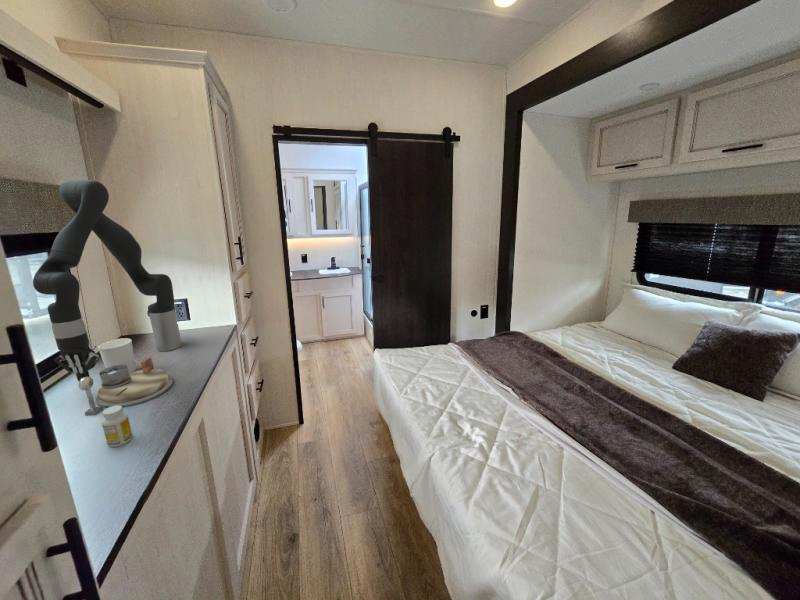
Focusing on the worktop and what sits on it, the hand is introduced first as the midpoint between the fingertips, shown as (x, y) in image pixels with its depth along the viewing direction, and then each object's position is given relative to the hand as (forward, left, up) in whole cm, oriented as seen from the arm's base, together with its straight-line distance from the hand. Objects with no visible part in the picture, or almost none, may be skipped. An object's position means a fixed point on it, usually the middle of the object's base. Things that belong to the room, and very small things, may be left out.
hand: (84, 381), depth 114 cm
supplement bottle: (+27, +28, -5) cm, 39 cm away
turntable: (0, +15, -3) cm, 16 cm away
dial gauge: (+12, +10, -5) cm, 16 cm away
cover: (0, +10, -1) cm, 10 cm away
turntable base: (0, +15, -5) cm, 16 cm away
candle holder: (-15, +1, -5) cm, 16 cm away
